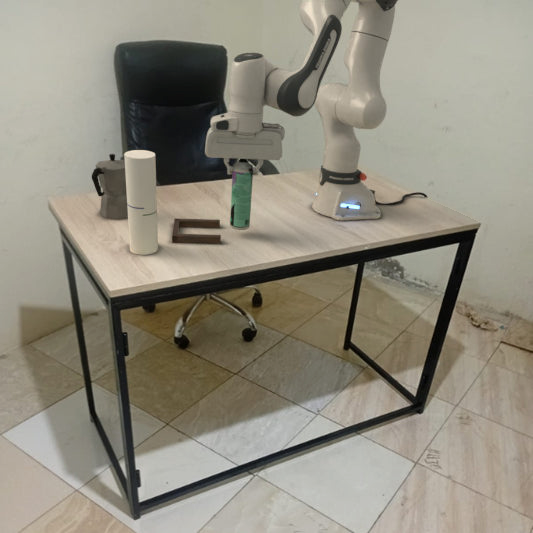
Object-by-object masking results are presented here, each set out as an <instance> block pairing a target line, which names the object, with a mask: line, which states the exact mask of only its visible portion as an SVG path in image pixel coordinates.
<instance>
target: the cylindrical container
mask: <svg viewBox="0 0 533 533" xmlns="http://www.w3.org/2000/svg"><path fill="white" fill-rule="evenodd" d="M123 156H124V157H123V158H124V160H125V174H126V191H127V209H128V217H127V223H128V224H127V225H128V242H129V251H130V252H131V253H133V254H135V255H140V256H141V255H142V256H145V255H146V256H147V255H152V254H154V253H156V252H157V251H158V250H159V237H158V236H159V234H158V200H157V168H156V166H157V165H156V163H157V162H156V153H155V152H153V151H150V150H145V149H134V150H128V151H126V152H124V154H123Z"/></svg>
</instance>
